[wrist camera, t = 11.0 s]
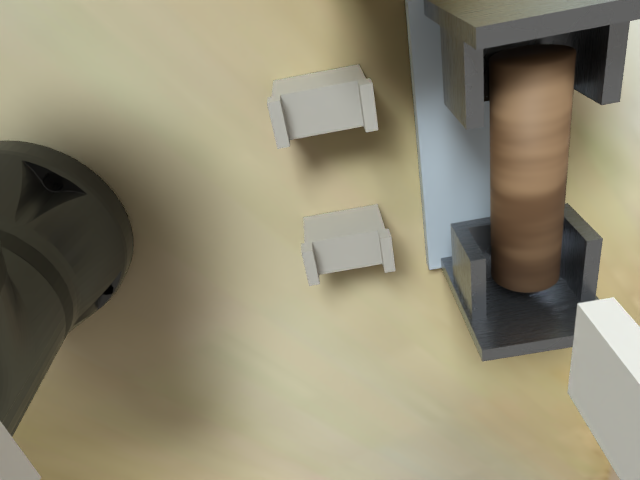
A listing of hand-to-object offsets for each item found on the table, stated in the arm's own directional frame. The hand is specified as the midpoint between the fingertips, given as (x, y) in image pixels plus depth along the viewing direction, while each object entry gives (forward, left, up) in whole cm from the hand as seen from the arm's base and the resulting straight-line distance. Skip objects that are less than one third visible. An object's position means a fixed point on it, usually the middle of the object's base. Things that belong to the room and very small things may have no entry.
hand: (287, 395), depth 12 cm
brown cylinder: (+14, -7, -24) cm, 28 cm away
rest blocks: (+2, -7, -29) cm, 29 cm away
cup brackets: (+14, -7, -29) cm, 32 cm away
